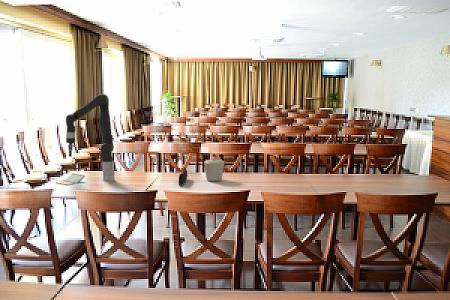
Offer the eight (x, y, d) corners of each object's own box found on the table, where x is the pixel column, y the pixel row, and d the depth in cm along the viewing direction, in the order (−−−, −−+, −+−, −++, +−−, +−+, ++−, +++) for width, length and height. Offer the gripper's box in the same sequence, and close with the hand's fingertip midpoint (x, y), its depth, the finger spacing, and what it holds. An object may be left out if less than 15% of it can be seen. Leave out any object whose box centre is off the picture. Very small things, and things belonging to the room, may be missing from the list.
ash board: (75, 184, 342) (75, 182, 342) (67, 186, 336) (67, 184, 335) (63, 182, 351) (63, 180, 351) (55, 183, 344) (55, 181, 344)
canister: (207, 178, 370) (207, 155, 367) (226, 179, 366) (226, 155, 363) (201, 182, 353) (201, 158, 350) (221, 183, 348) (221, 158, 345)
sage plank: (85, 176, 350) (84, 175, 349) (76, 184, 343) (76, 182, 342) (73, 174, 358) (72, 173, 357) (65, 181, 352) (64, 180, 351)
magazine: (181, 176, 331) (186, 160, 359) (177, 176, 332) (183, 160, 359) (183, 194, 339) (187, 177, 366) (179, 194, 339) (184, 177, 366)
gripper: (75, 138, 348) (74, 157, 350) (75, 136, 361) (74, 154, 363) (66, 138, 345) (65, 157, 347) (66, 136, 358) (65, 154, 360)
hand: (70, 155), depth 355 cm, fingers open, 8 cm apart
